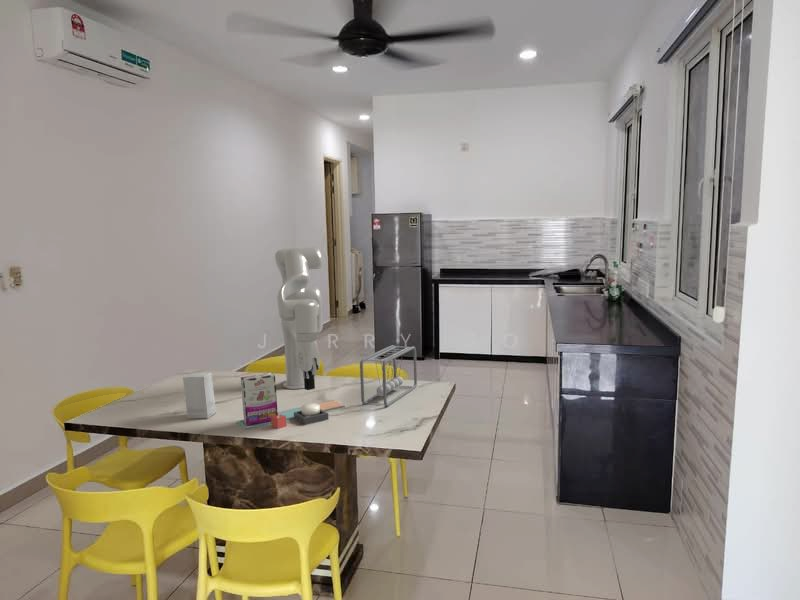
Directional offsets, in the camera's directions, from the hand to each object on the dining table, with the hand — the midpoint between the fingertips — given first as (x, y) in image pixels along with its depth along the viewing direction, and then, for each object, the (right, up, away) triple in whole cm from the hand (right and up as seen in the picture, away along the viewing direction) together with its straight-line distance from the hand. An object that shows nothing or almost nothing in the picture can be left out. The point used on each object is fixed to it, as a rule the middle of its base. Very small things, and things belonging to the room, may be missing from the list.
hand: (309, 389), depth 196 cm
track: (-7, -10, +8) cm, 15 cm away
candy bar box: (-17, -12, +1) cm, 21 cm away
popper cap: (0, -9, +2) cm, 9 cm away
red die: (-10, -12, -5) cm, 16 cm away
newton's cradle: (+28, -7, +27) cm, 39 cm away
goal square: (+3, -9, +15) cm, 18 cm away
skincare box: (-41, -11, +9) cm, 43 cm away
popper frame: (0, -11, +2) cm, 11 cm away
